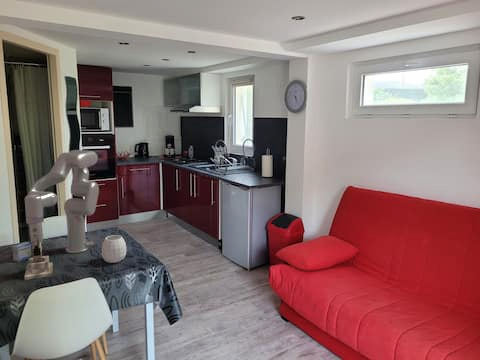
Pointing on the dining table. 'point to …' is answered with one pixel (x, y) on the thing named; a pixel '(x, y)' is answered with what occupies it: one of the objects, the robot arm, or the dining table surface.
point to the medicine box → (21, 251)
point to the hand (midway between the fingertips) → (37, 253)
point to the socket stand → (38, 268)
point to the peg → (37, 258)
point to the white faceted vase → (113, 249)
